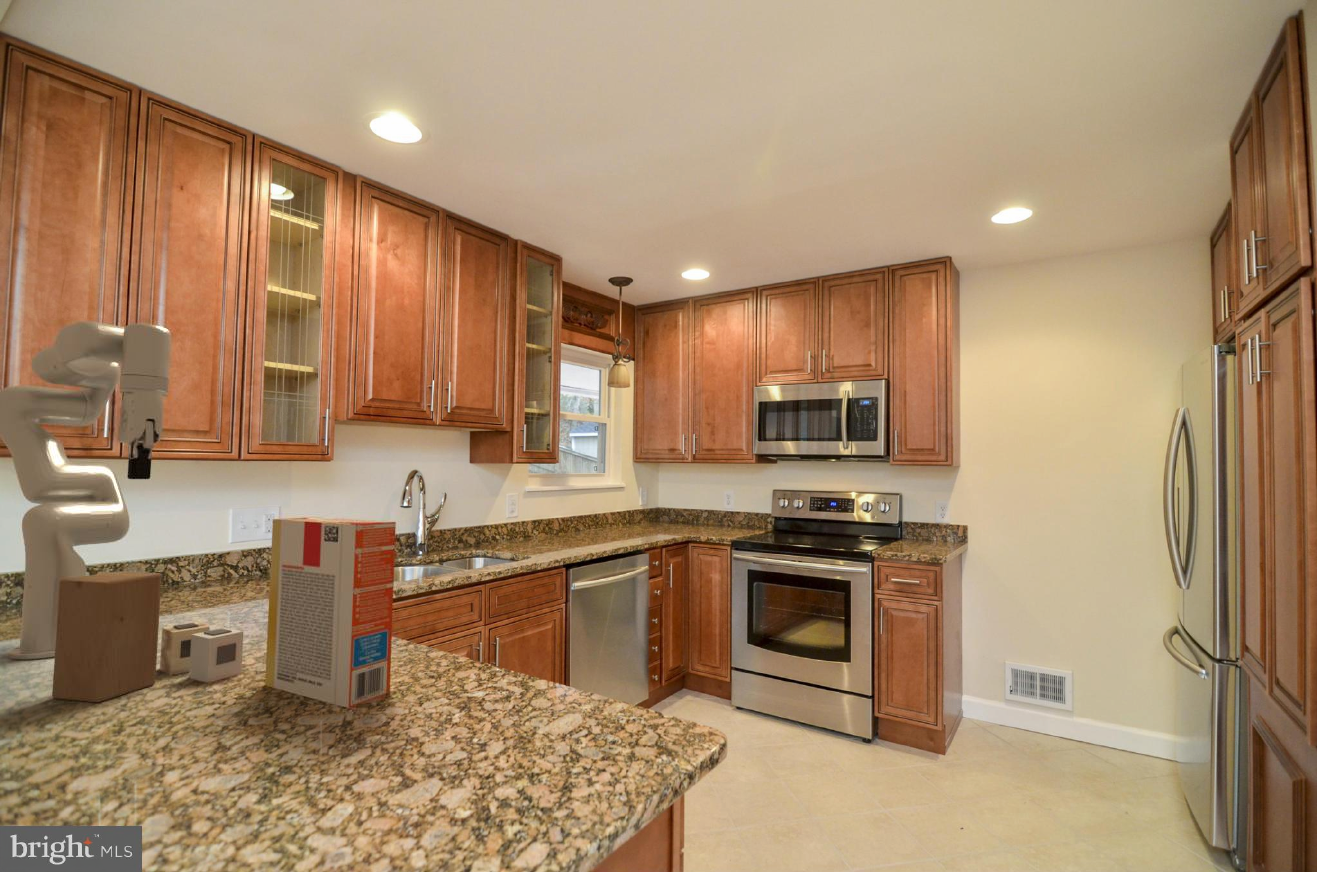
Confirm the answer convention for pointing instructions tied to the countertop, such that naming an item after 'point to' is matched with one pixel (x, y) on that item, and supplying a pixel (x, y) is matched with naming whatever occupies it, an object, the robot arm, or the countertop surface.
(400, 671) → the countertop surface
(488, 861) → the countertop surface
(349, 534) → the pasta box
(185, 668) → the marked beech block
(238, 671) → the marked grey block
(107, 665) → the wooden block
